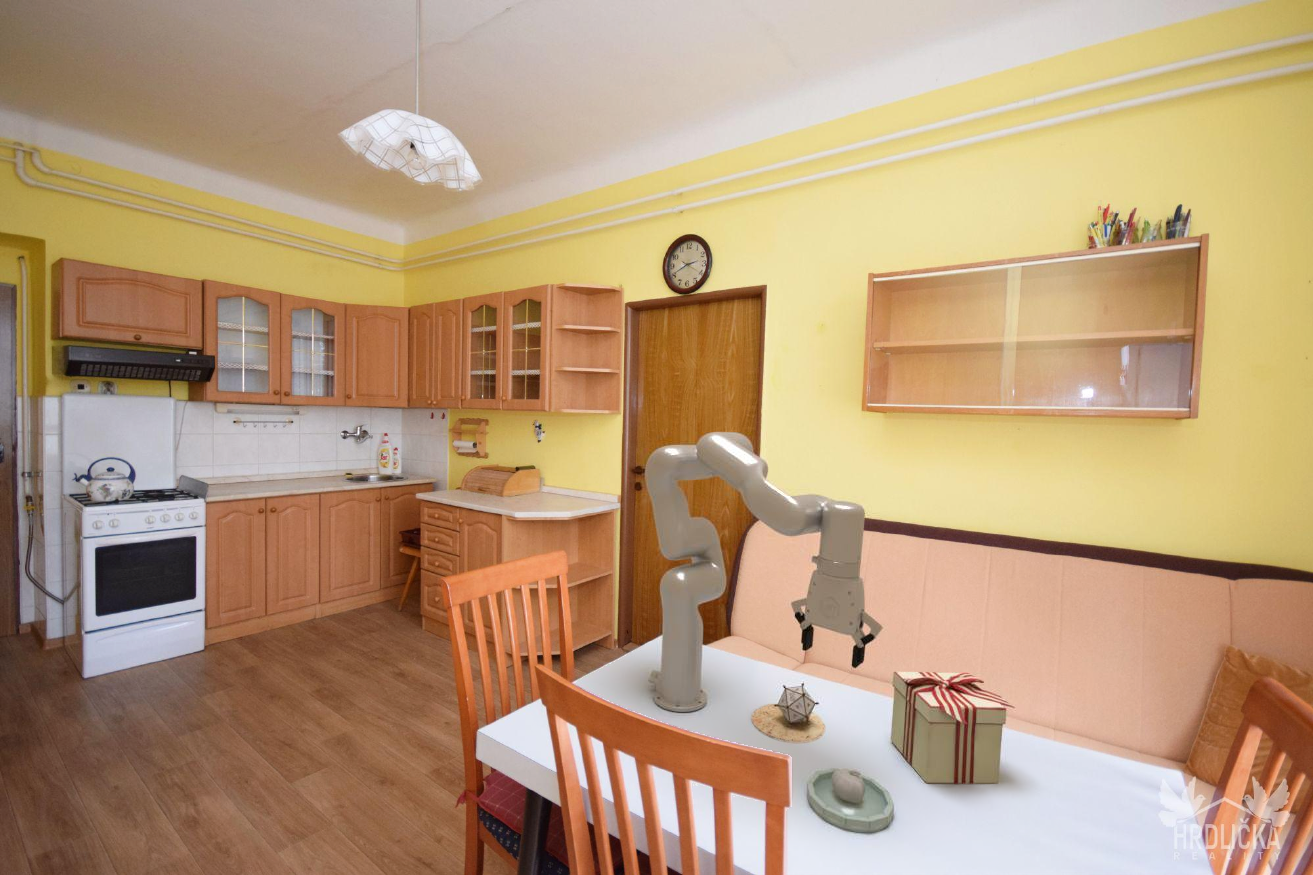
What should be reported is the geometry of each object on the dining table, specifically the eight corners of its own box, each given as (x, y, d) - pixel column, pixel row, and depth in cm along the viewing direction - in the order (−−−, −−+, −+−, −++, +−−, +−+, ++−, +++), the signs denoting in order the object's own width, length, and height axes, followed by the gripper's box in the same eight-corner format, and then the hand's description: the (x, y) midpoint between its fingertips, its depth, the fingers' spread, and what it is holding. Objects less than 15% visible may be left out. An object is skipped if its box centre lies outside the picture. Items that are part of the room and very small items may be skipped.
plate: (794, 806, 99) (794, 795, 99) (825, 770, 110) (825, 759, 110) (877, 845, 91) (878, 833, 91) (902, 801, 102) (903, 790, 102)
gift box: (939, 798, 103) (944, 703, 103) (883, 741, 121) (887, 660, 121) (1024, 793, 106) (1029, 700, 105) (957, 738, 124) (961, 658, 123)
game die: (802, 742, 126) (820, 720, 121) (766, 723, 128) (782, 701, 122) (809, 707, 134) (826, 684, 128) (774, 689, 135) (790, 666, 129)
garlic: (872, 800, 100) (873, 771, 100) (855, 813, 97) (857, 782, 96) (841, 783, 105) (842, 755, 105) (824, 795, 101) (825, 765, 101)
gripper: (787, 560, 111) (780, 647, 112) (878, 582, 100) (870, 679, 101) (804, 554, 117) (797, 637, 118) (892, 575, 106) (884, 666, 107)
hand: (831, 656), depth 109 cm, fingers open, 9 cm apart
